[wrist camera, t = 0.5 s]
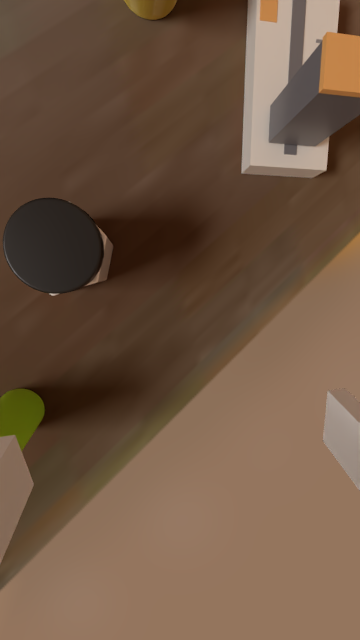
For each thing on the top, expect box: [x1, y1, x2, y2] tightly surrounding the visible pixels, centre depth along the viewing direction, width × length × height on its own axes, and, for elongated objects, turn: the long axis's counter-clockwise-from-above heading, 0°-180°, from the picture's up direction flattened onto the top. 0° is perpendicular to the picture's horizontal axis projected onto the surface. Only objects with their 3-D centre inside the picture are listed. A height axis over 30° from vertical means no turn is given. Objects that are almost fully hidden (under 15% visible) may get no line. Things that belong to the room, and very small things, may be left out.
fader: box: [269, 32, 360, 146], centre depth 30 cm, size 4×6×11 cm
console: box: [241, 0, 340, 178], centre depth 36 cm, size 20×10×3 cm, turn 179°
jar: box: [3, 198, 113, 296], centre depth 31 cm, size 9×8×12 cm
